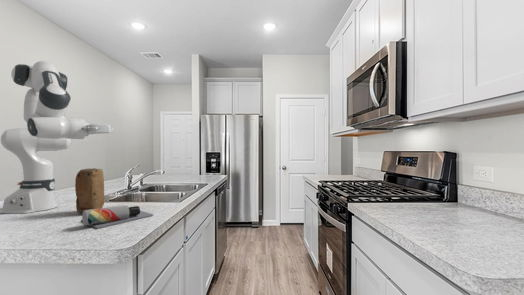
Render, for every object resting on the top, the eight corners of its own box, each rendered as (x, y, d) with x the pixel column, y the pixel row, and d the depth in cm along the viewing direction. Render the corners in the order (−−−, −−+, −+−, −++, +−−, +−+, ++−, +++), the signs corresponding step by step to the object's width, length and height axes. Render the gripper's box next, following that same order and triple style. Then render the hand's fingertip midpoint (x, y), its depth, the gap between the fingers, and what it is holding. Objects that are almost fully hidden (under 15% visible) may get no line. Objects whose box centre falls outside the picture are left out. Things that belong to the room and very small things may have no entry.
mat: (97, 229, 95) (97, 227, 95) (80, 221, 104) (80, 219, 104) (153, 215, 112) (153, 214, 112) (134, 210, 122) (134, 208, 122)
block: (106, 210, 121) (105, 168, 121) (92, 215, 114) (92, 169, 114) (86, 209, 123) (86, 168, 123) (72, 213, 116) (71, 169, 116)
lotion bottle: (86, 221, 94) (142, 212, 108) (84, 207, 96) (139, 201, 111) (83, 228, 96) (138, 219, 111) (81, 215, 99) (135, 208, 114)
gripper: (87, 120, 105) (122, 122, 117) (70, 122, 118) (103, 124, 129) (87, 135, 106) (122, 136, 117) (70, 136, 118) (103, 137, 129)
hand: (112, 130), depth 123 cm, fingers closed
